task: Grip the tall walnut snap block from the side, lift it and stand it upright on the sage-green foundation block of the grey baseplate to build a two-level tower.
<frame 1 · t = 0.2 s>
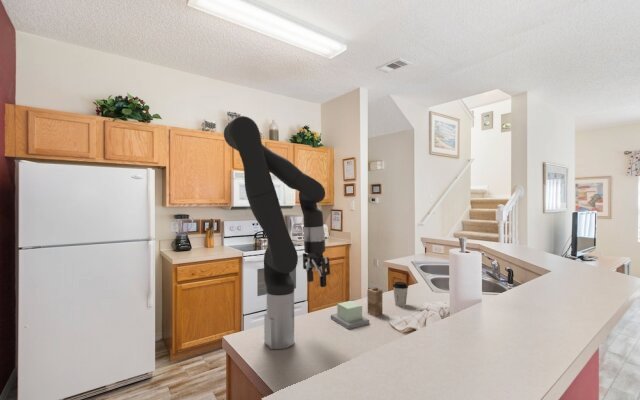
hand: (316, 284, 109), 18 cm above the counter, tool pointing down, fingers open, 8 cm apart
foundation: (349, 321, 121), on the counter
coffee cup: (400, 305, 139), on the counter
walnut pillar block: (374, 313, 129), on the counter
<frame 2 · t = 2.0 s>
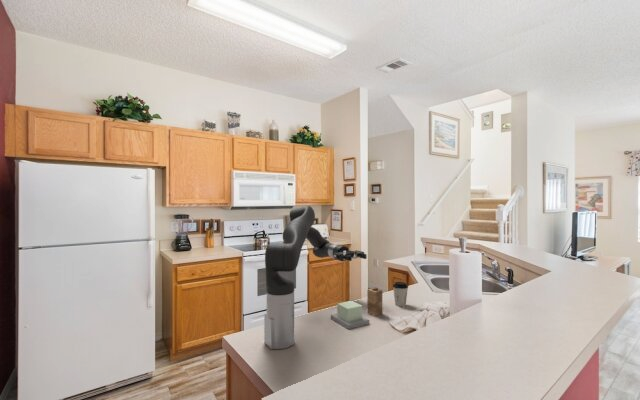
hand: (358, 257, 138), 22 cm above the counter, tool horizontal, fingers open, 8 cm apart
nothing on the counter moved.
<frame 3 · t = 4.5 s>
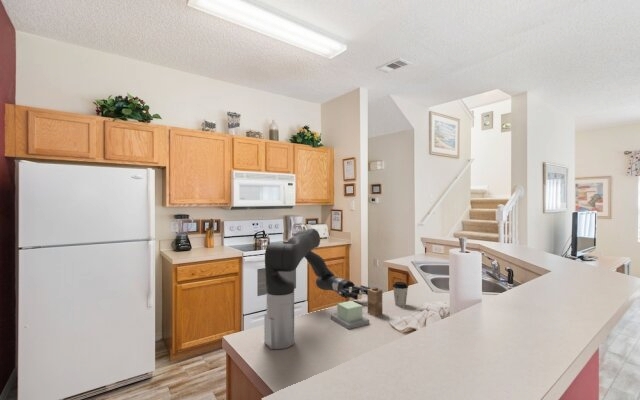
hand: (364, 295, 134), 6 cm above the counter, tool horizontal, fingers open, 8 cm apart
nothing on the counter moved.
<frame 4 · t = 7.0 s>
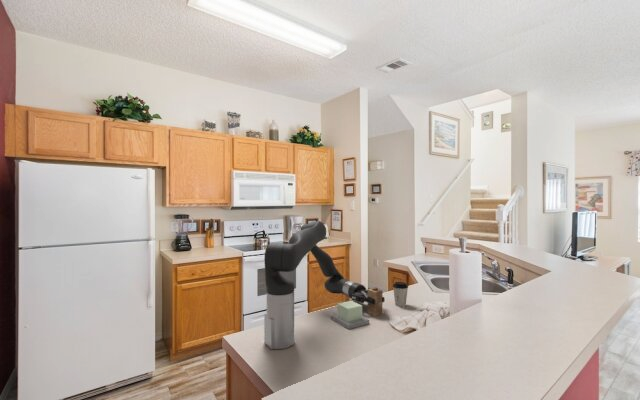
hand: (379, 300, 127), 6 cm above the counter, tool horizontal, fingers closed on walnut pillar block, 4 cm apart
walnut pillar block: (374, 313, 129), on the counter, touching gripper
everything else where it was.
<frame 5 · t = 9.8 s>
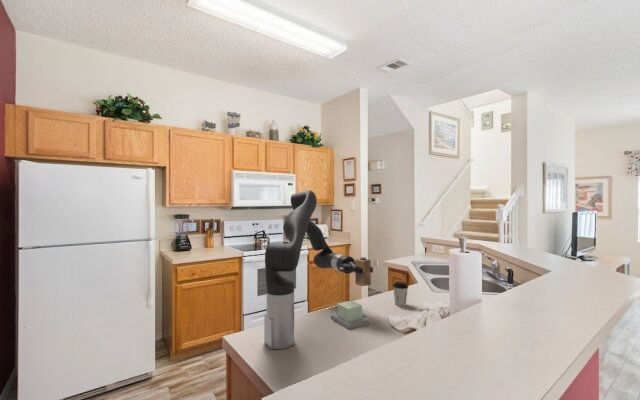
hand: (367, 270, 122), 20 cm above the counter, tool horizontal, fingers closed on walnut pillar block, 4 cm apart
walnut pillar block: (363, 284, 124), point 14 cm above the counter, touching gripper
everything else where it was.
when the fingers open (14 cm above the counter, at t = 12.6 s): walnut pillar block drops 1 cm, resting on foundation.
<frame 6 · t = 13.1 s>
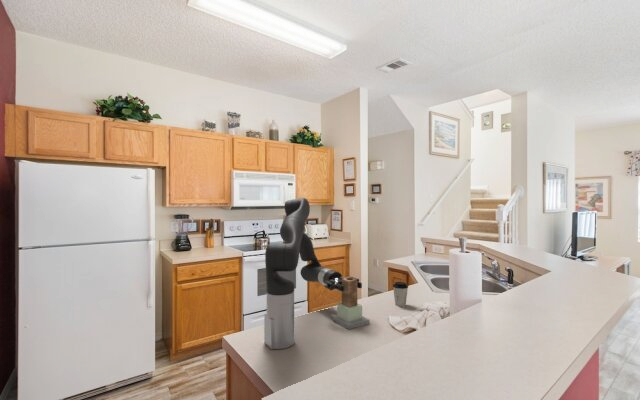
hand: (352, 287, 119), 14 cm above the counter, tool horizontal, fingers open, 8 cm apart
walnut pillar block: (349, 304, 121), point 6 cm above the counter, touching foundation
everything else where it was.
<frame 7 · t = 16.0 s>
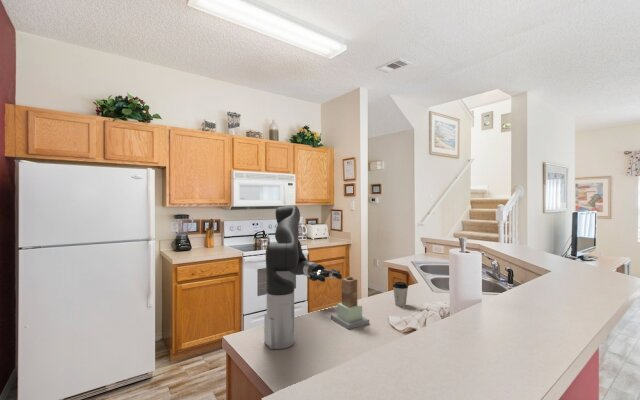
hand: (332, 278, 131), 14 cm above the counter, tool horizontal, fingers open, 8 cm apart
nothing on the counter moved.
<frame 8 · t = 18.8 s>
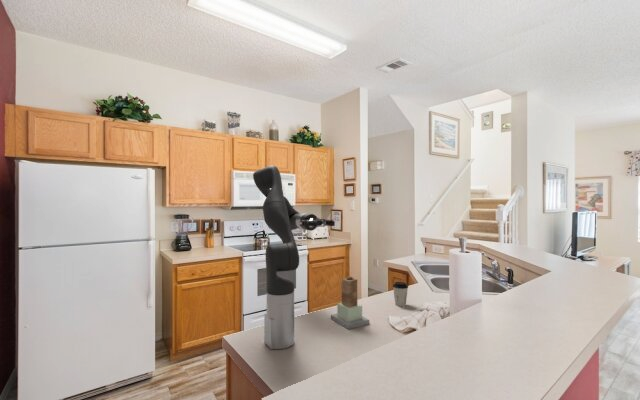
hand: (325, 224, 127), 38 cm above the counter, tool horizontal, fingers open, 8 cm apart
nothing on the counter moved.
at the end: walnut pillar block 0.1 cm off-centre on the foundation, point 6.5 cm above the foundation's base; walnut pillar block tilted 0°; the gripper is holding nothing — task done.
